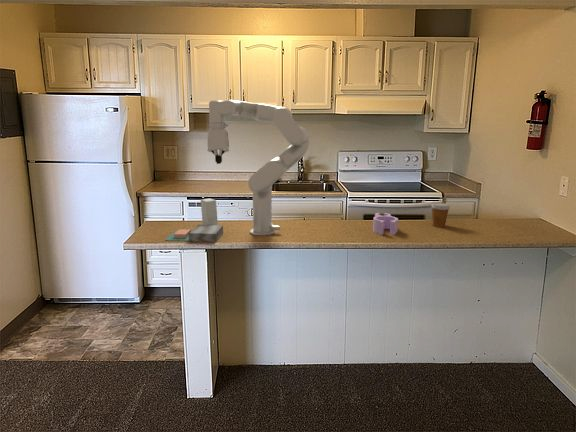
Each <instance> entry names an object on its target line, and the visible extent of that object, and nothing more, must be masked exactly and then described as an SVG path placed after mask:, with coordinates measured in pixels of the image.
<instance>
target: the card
mask: <svg viewBox="0 0 576 432" xmlns="http://www.w3.org/2000/svg"><path fill="white" fill-rule="evenodd" d="M191 231H192V229H185V228H184V229H183V228H181V229H180V228H179V229H177V232H176V233H174V232H173V233H174V238H187V237H188V236H189V233H190V232H191Z"/></svg>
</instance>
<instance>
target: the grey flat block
mask: <svg viewBox="0 0 576 432" xmlns="http://www.w3.org/2000/svg"><path fill="white" fill-rule="evenodd" d="M223 234H224V225H220V224H218V225H203V224H197V225H196V226H195V227H194V228H193V229H191V232H190V233H189V241H188V242H206V243H207V242H208V243H211V242H213V243H216V242H217V241H218V240H219V239H220V237H221V236H222V235H223Z"/></svg>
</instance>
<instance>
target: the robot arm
mask: <svg viewBox="0 0 576 432" xmlns="http://www.w3.org/2000/svg"><path fill="white" fill-rule="evenodd" d="M208 110H209V111H208V112H209V113H208V114H209V128H208V132H207V152H209V153H212V154H213V155H214V157H215V158H214V159H215V160H214V161H215V163H216V164H217V165H220V164H222V163H223V154H225V153H229V152H230V140H229V134H228V133H229V132H228V129H227V127H229V124H228V123H226V116H227V117H240V118H241V117H242V118H247V119H248V118H249V119H252V120H254V121H256V122H259V123H265V124H266V123H267V124H272V125H275V127H276V128H277V129H278V131H279V132H280V133H281V134H282V136H283V137H284V139H285V140H286V141H287V142H288V143H289V145H288V147H286V148H285V149H284V150H283V151H282V152H281V153H279V154H278V155H277V156H276V157H274V158H272V159H270V160H268V161H267V162H266V163H265V164H263V165H262V166H261V167H260V168H258V170H257V171H255V173H253V174H252V175H251V176H250V177H249V178H248V180H247V181H248V182H247V186H248V189H249V191H251V192H252V228H251V229H250V231H249V232H250V234H251V235H253V236H259V237H260V236H265V237H266V236H270V235H273V234H275V231H280V230H281V226H280V225H275V224H274V223H273V221H272V216H273V215H272V214H273V213H272V211H273V210H272V201H273V200H272V197H273V196H272V195H273V194H272V192H273V184H275V183H276V182H277V181H278V180H280V179H281V178H282V177H283V176H285V174H286V173H287V172H288V171H289V170H290V169H291V168H293V167H294V166H295V165H296V164H297V163H298V162H299V161H300V160H301V159H302V158H303V157H304V156H305V154H306V153H307V151H308V149H309V146H310V135H309V133H308V131H307V129H305V127H303V126H300V125H298V123H297V122H296V121H295V119H294V118H293V113H292V111H291V109H290V108H288V107H286V106H285V107H284V106H277V105H272V104H265V103H258V102H257V103H255V102H254V103H253V102H248V101H242V100H233V99H227V100H210V101H209V102H208ZM218 150H219V151H218Z"/></svg>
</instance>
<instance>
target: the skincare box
mask: <svg viewBox="0 0 576 432" xmlns="http://www.w3.org/2000/svg"><path fill="white" fill-rule="evenodd" d="M200 208H201V221H202V225H219V223H218V222H219V221H218V211H217V210H218V209H217V200H216V199H213V198H203V199H200Z"/></svg>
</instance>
